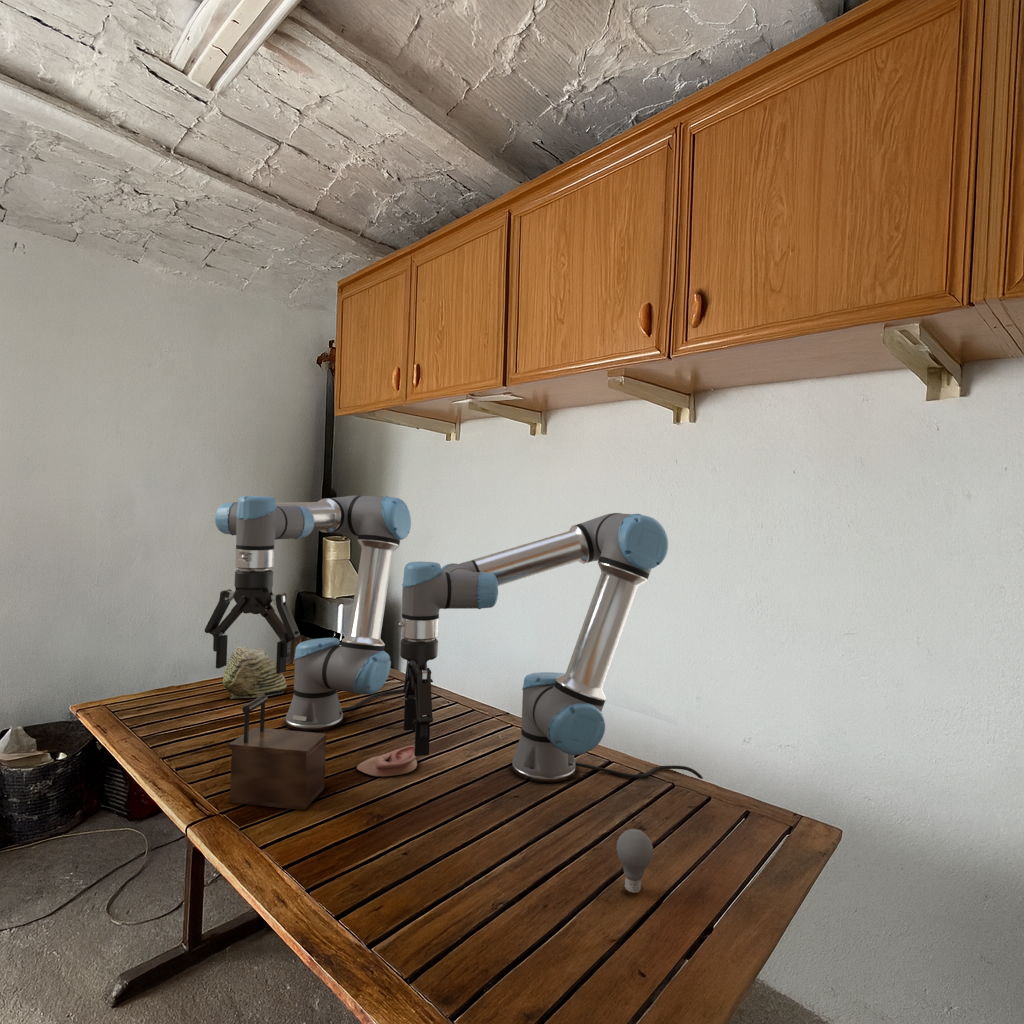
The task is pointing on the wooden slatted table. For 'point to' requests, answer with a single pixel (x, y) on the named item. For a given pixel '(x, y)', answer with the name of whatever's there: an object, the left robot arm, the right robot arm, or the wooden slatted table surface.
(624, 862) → the light bulb
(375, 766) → the anatomical model
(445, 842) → the wooden slatted table surface
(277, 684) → the fossil
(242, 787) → the chest
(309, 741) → the lid
